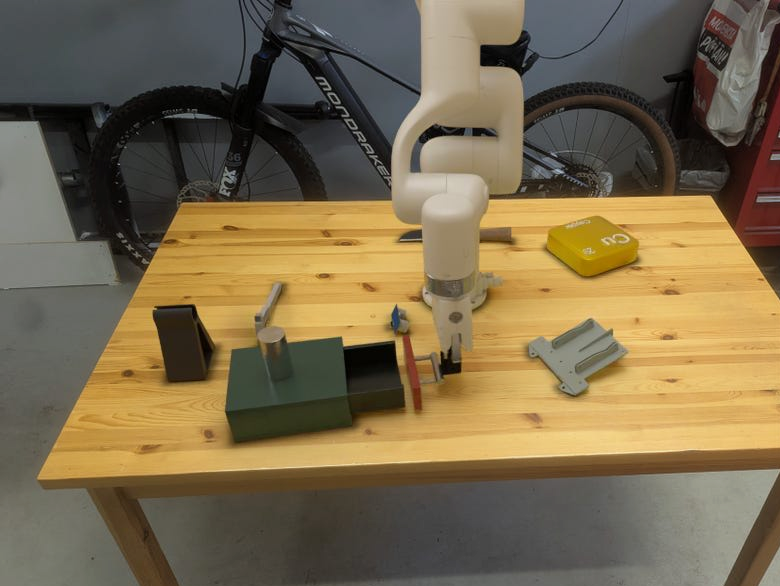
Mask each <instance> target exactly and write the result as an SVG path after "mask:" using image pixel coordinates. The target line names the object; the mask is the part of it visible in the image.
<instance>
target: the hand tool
mask: <svg viewBox="0 0 780 586" xmlns="http://www.w3.org/2000/svg"><path fill="white" fill-rule="evenodd" d="M398 241H399V242H403V241H404V242H405V241H423V240H422V228H421V229H413V230H410V231H408V232H406V233H404V234H403V235H401V236H400V237H399V239H398ZM479 241H500V242H501V241H502V242H503V241H504V242H512V226H504V227H492V228H482V229H481V228H480V239H479Z"/></svg>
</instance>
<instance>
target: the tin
mask: <svg viewBox="0 0 780 586" xmlns="http://www.w3.org/2000/svg"><path fill="white" fill-rule="evenodd" d="M286 334H287V333H286V331H285V329H284V328H283V327H281V326H278V325H269V326H266V328H264V329H262V330H260V331H259V333H258V334H257V335H256V339H257V338H258V339H257V343H258V342H259V343H258V346H260V350H261V354H262V358H263V362H264V365H265V369H266V373H267V376H268V378H269V379H271V380H274V381H281V380H285V379H287V378H289V377H290V376H291V375H292V374H293V366H292V361H291V357H290V352H289V348H288V343H289V342H288V339H287V335H286Z"/></svg>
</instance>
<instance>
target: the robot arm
mask: <svg viewBox="0 0 780 586" xmlns="http://www.w3.org/2000/svg"><path fill="white" fill-rule="evenodd" d="M414 2H415V6H416V8H417V11H418V13H419V16H420V86H421V87H420V89H421V90H420V98H419V99H418V102H417V103H416V104H415V106H413V108H412V109H411V110H410V112H409V113H408V114H407V116H406V117H405V118H404V120H403V121H402V122H401V125H400V127H399V128H398V130H397V132H396V135H395V138H394V140H393V145H392V149H391V164H390V169H391V171H390V173H391V174H390V177H391V178H390V179H391V182H390V183H391V186H390V187H391V188H390V189H391V206H392V211H393V214H394V215H395V217H396V218H397V220H398V221H399V222H401V223H403V224H406V225H412V226H413V225H414V226H417V225H418V226H421V229H422V240H421V241H422V259H423V261H422V262H423V282H424V283H423V286H422V299H423V301H424V302H425V304H426V305H427V306H429V307H430V308H431V310H432V318H433V324H434V328H435V333H436V335H437V338H438V342H439V345H440V349H441V350H440V351H439V355H440V357H439V361H440V364H441V368H442V372H443V376H450V375H451V376H452V375H458V374H461V373H462V347H463V348H464V351H465V352H466V353H468V352H472V351H473V349H474V335H473V333H474V332H473V310H474V309H477V308H478V307H479V306H481V305H482V304H484V302H485V300H486V298H487V290H488V288H498V287H503V286H504V279H503V276H495V274H494V271H488V272H487V271H486V272H482V271H480V240H479V239H480V229H481V221H482V220H483V217H484V215H486V214H487V212H488V209H489V204H490V195H509V194H512V193H514V192H516V191H517V190H518V189H519V188H520V185H521V183H522V177H523V163H524V162H523V161H524V160H523V159H524V118H525V117H524V115H525V103H524V102H525V101H524V99H525V98H524V97H525V96H524V86H523V82H522V78H521V76H520V74H519V73H518V71H516V70H515V69H513V68H511V67H506V66H482V65H481V46H484V45H491V46H492V45H493V46H495V45H496V46H510V45H513V44H515V43H516V42H518V40H519V39H520V37H521V33H522V31H523V27H524V22H525V21H524V20H525V3H526V1H525V0H414ZM434 125H438V126H442V127H447V128H466V129H467V128H469V129H470V128H474V129H475V128H477V129H483V128H484V129H492V130H493V131H495V132H496V136H480V135H479V136H476V135H443V136H437V137H434V138H430V139H429V140H427V141H426V142H425V143H424V145H422V147H421V149H420V155H419V166H420V167H419V168H420V172H412V171H411V158H412V152H413V149H414V146H415V144H416V142H417V140H418V139H419V137H420V136H421V135H422V134H423V133H424V132H425V131H426V130H428V129H430V128H431V127H432V126H434Z"/></svg>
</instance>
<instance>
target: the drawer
mask: <svg viewBox="0 0 780 586" xmlns="http://www.w3.org/2000/svg"><path fill="white" fill-rule="evenodd" d="M401 339H402V340H401V341H402V351H403V352H402V353H403V359H404V360H403V361H404V366H405V370H406V375H407V380H408V386H409V391H410V396H411V400H412V405H413V410H414V411H421V410H423V405H422V404H423V403H422V387H421V386H425V385H433V384H436V385H438V386H443V385H444V384H445V383H446V380H445V375H443V372H442V368H441V361H440V357H439V353H438V352H436V351H433V352H431V353H429V354H428V355H427V354H425V355H421V356H420V355H419V356H415V355H414V351H413V346H412V342H411V341H412V340H411V336H410V335H409V334H405V335H401ZM343 350H344V361H345V372H346V382H347V393H348V401H349V407H350V413H351V416H352V415H358V414H367V413H375V412H381V411H388V410H395V409H402V408H406V397H405V396H406V395H405V386H404V384H403V383H402V380H401V373H400V369H399V363H398V357H397V355H398V354H397V346H396V340H385V341H377V342H369V343H359V344H352V345H343ZM423 361H430V364H431V366H432V367H431V368H432V371H433V375H434V378H427V379H420V378H419V374H418V369H417V363H416V362H423Z"/></svg>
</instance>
